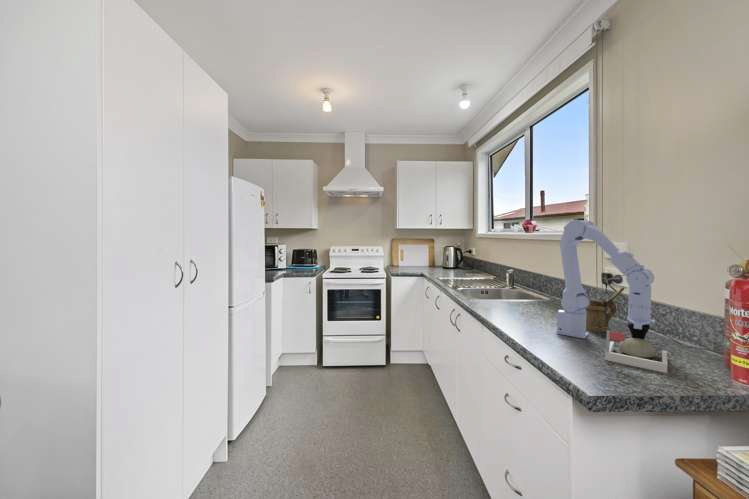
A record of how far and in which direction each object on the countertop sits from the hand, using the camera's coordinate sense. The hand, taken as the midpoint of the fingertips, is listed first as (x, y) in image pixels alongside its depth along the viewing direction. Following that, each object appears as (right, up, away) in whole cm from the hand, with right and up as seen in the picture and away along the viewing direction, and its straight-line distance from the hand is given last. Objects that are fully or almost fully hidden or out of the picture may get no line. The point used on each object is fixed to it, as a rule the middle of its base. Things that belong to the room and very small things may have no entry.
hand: (637, 345), depth 106 cm
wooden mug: (+4, -1, +23) cm, 23 cm away
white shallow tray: (-7, -2, -8) cm, 11 cm away
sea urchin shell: (-4, -2, -4) cm, 6 cm away
